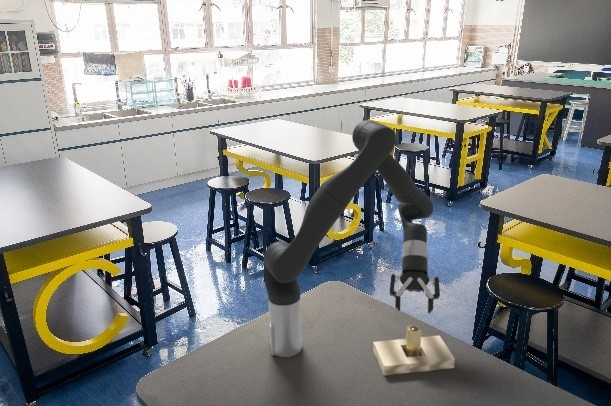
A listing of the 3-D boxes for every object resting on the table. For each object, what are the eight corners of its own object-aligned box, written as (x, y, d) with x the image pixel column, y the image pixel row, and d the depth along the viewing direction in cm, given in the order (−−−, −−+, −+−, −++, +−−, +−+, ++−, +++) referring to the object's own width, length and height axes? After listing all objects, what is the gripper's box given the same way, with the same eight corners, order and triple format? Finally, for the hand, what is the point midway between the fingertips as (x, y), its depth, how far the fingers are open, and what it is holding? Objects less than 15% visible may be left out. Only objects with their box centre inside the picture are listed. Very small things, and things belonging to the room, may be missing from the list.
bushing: (407, 363, 137) (409, 333, 133) (403, 355, 140) (404, 325, 137) (421, 362, 137) (423, 332, 134) (416, 353, 141) (418, 323, 137)
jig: (383, 375, 132) (384, 366, 131) (373, 350, 143) (373, 341, 142) (454, 367, 135) (454, 358, 134) (438, 343, 145) (439, 335, 144)
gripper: (391, 252, 144) (389, 306, 138) (440, 255, 142) (441, 310, 135) (390, 260, 151) (388, 312, 144) (437, 263, 149) (438, 316, 142)
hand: (414, 311), depth 140 cm, fingers open, 8 cm apart
